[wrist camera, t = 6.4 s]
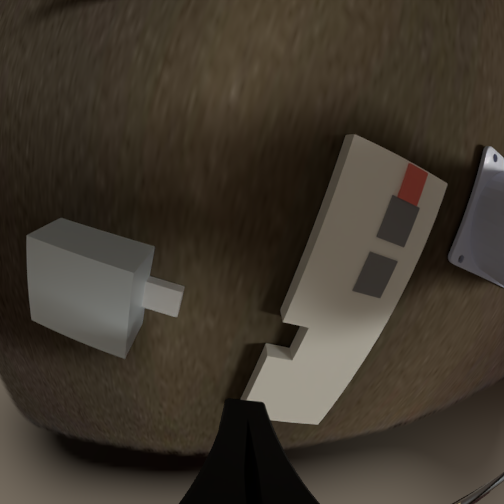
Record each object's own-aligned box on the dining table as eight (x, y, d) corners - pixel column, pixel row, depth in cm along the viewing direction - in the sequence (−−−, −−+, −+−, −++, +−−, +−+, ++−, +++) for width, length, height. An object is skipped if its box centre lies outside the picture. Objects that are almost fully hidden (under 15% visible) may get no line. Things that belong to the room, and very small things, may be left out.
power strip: (435, 180, 13) (449, 184, 12) (315, 412, 19) (318, 426, 18) (345, 134, 13) (356, 134, 11) (238, 402, 18) (238, 417, 17)
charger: (192, 255, 15) (179, 286, 12) (175, 331, 16) (162, 370, 13) (62, 216, 14) (26, 235, 10) (60, 291, 15) (31, 319, 12)
